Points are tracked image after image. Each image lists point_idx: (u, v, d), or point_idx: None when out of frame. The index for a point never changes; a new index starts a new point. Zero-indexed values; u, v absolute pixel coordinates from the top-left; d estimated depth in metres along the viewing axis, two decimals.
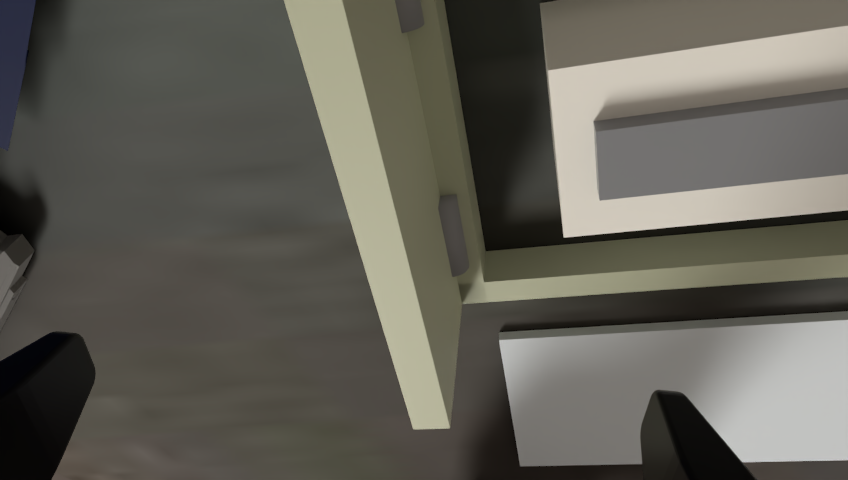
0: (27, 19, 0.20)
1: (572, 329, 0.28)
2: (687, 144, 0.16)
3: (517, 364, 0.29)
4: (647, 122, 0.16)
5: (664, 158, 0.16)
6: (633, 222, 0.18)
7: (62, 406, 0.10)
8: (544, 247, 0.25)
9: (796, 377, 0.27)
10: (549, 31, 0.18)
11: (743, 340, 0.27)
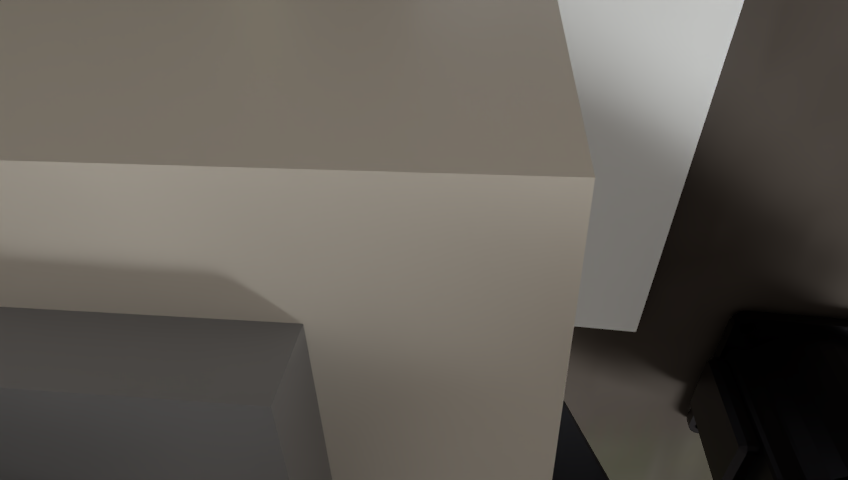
0: None
1: None
2: None
3: None
4: None
5: None
6: None
7: None
8: None
9: None
10: None
11: None
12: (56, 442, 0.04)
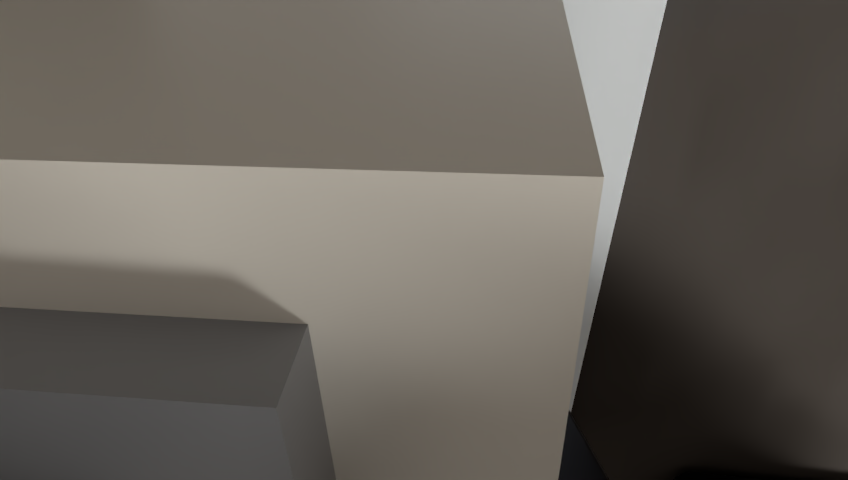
0: None
1: None
2: None
3: None
4: None
5: None
6: None
7: None
8: None
9: None
10: None
11: None
12: (59, 444, 0.04)
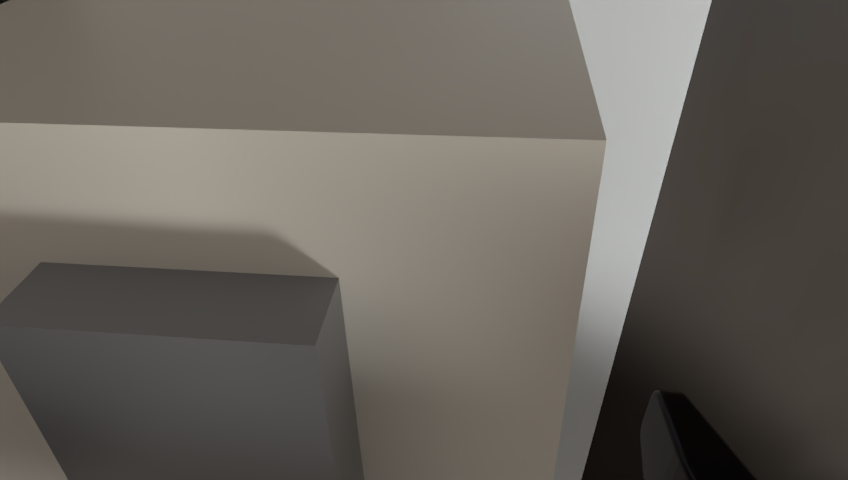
0: None
1: None
2: None
3: None
4: None
5: None
6: None
7: None
8: None
9: None
10: None
11: None
12: (115, 383, 0.04)
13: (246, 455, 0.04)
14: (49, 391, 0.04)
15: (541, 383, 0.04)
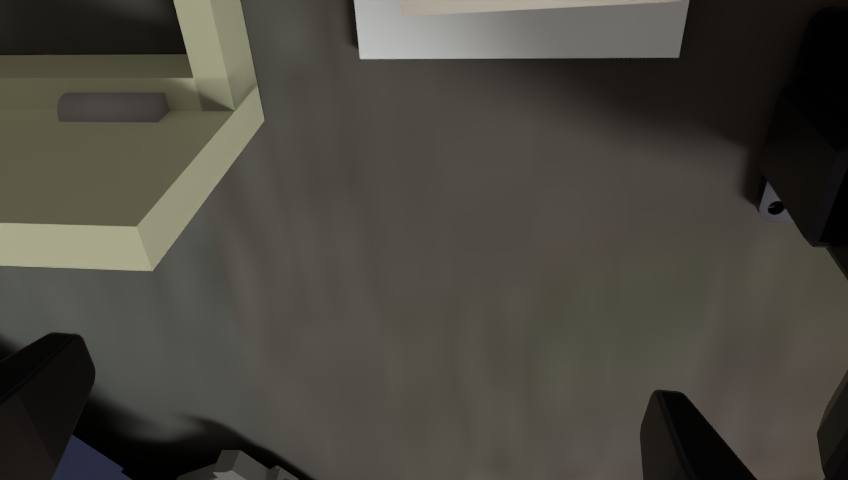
0: None
1: None
2: None
3: (411, 36, 0.18)
4: None
5: None
6: None
7: (62, 406, 0.10)
8: None
9: None
10: None
11: None
12: None
13: None
14: None
15: None
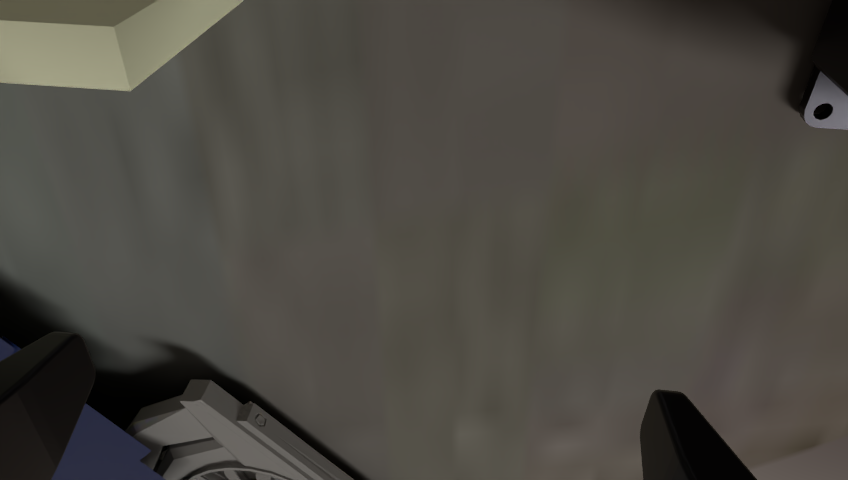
0: None
1: None
2: None
3: None
4: None
5: None
6: None
7: (62, 406, 0.10)
8: None
9: None
10: None
11: None
12: None
13: None
14: None
15: None
